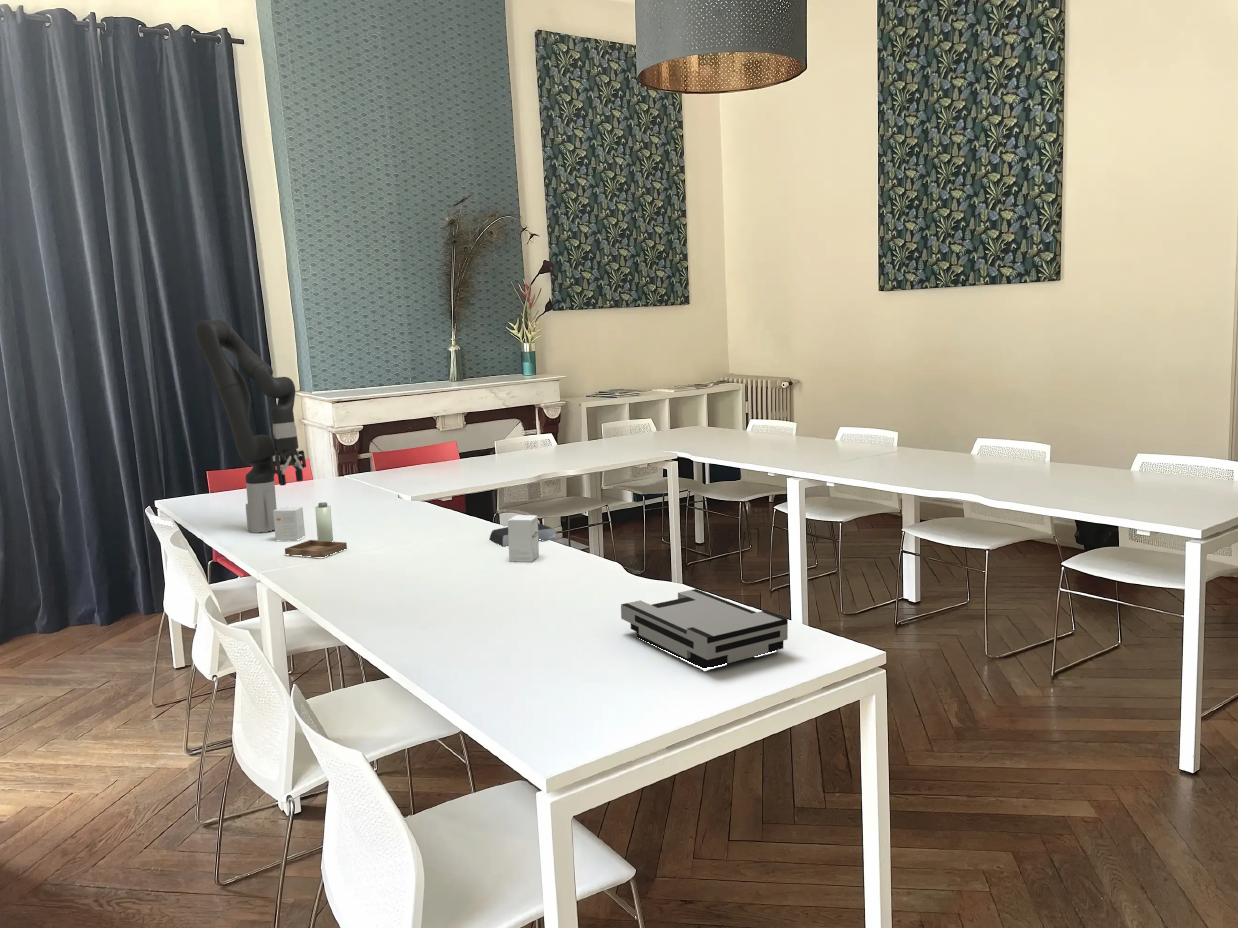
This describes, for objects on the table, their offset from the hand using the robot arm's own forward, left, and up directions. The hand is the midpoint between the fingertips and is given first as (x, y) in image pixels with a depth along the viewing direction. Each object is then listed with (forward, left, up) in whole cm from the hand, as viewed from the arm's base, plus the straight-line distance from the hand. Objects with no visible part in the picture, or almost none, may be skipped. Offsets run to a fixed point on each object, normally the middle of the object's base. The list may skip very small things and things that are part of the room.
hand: (291, 483), depth 325 cm
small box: (+6, -9, -18) cm, 20 cm away
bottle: (+21, -10, -17) cm, 29 cm away
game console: (+165, -67, -18) cm, 179 cm away
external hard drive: (+82, +12, -18) cm, 85 cm away
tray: (+27, -22, -17) cm, 39 cm away
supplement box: (+94, -11, -18) cm, 96 cm away
